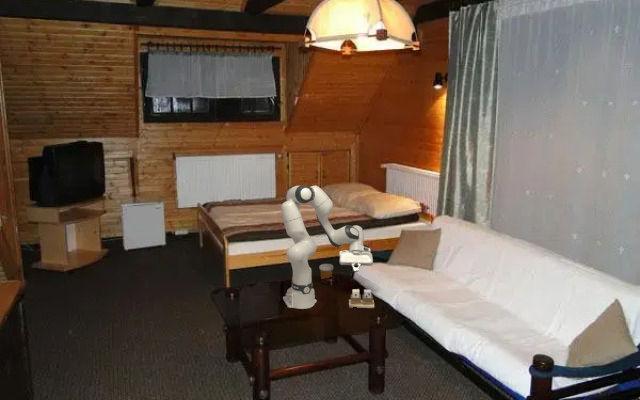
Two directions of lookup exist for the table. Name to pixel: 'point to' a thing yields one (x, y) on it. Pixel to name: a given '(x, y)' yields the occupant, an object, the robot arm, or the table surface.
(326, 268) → the disposable coffee cup
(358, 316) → the table surface
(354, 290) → the key one
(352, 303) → the key console
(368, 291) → the key two
